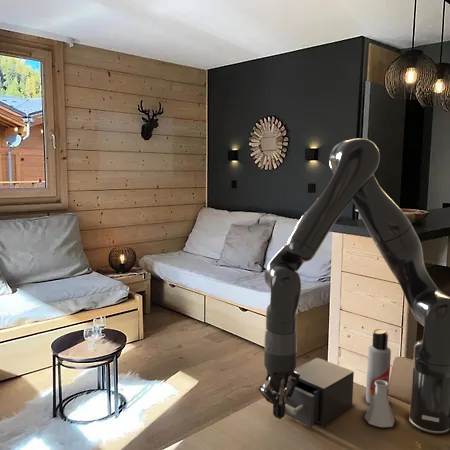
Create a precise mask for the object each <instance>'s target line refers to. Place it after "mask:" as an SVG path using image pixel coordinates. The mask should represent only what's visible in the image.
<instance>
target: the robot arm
mask: <svg viewBox="0 0 450 450" xmlns="http://www.w3.org/2000/svg"><path fill="white" fill-rule="evenodd" d="M379 151H380V150H379V148H378V147H377V145H376V144H375V143H374V142H373V141H371V140H369V139H366V138H351V139H349V140H343V141H341V142H339V143H337V144H336V145H334V146H333V148H331V150H330V153H329V157H328V158H329V160H328V161H329V167H330V170H331V173H332V174H333V175H332V177H331V179H330V181H329V182H328V184H327V186H326V187H325V189H324V190H323V191H322V193H321V194H320V195H319V197H318V198H317V199H316V200H315V201H314V202H313V204H311V206H309V207H308V209H307V210H306V212H304V214H303V215H302V216H301V218H300V219H299V221H298V222H297V223H296V225H295V227H294V229H293V230H292V232H291V234H290V236H289V237H288V239H287V241H286V243H285V244H284V245H283V246H282V247H281V248H280V249H279V250H278V251H277V253H276V254H275V255H274V256H273V257H272V258H271V260H270V261H269V262H268V264H267V266H266V268H265V271H264V276H263V277H264V282H265V284H266V286H267V287H268V288H269V290H270V301H269V304H268V305H267V308H266V311H265V332H264V333H265V334H264V349H263V350H264V352H263V355H264V358H263V365H264V367H265V369H266V375H265V383H264V384H263V385H259V386H258V389H257V390H258V391H259V393H260V394H261V395H262V397H263V398H264V399H265V401H266V402H268V403H269V404H272V415H273V416H274V417H275V418H276V419H278V420H281V419H283V418H284V417H285V416H286V414H285V403H286V402H287V398H288V397H291V396H292V394H293V391H294V389H295V387H296V384H297V382H298V380H299V377H300V374H298V373H296V372H294V369H295V368H297V361H298V359H297V358H298V357H297V355H298V334H297V319H298V318H297V312H298V308H299V304H300V299H301V294H302V293H301V292H302V280H301V279H302V278H301V276H300V273H299V270H300V268H301V267H302V266H303V265H304V263H305V262H310V261H312V260H313V258H314V257H315V256H316V254H317V252H318V251H319V249H320V248H321V246H322V245H323V243H324V241H325V239H326V238H327V236H328V234H329V233H330V231H331V229H332V228H333V226H335V225H334V224H335V223H336V222H337V221H338V219H339V217H340V216H341V215H342V213H343V212H344V211H345V209H346V208H347V206H349V203H350V202H352V203H353V204H354V206H355V208H356V210H357V212H358V214H359V216H360V218H361V220H362V221H363V224H364V225H365V227H366V229H367V231H368V233H369V235H370V237H371V239H372V241H373V243H374V244H375V246H376V248H377V250H378V252H379V254H380V255H381V257H382V258H383V260H384V262H385V263H386V265H387V267H388V268H389V270H390V271H391V273H392V274H393V276H394V277H395V279H396V280H397V282H398V284H399V286H400V288H401V291H402V292H403V294H404V295H403V296H404V297H405V299H406V301H407V305H408V307H409V310H410V311H411V314H412V316H413V317H414V319H415V320H416V321H417V323H419V325H422V326H423V335H422V339H421V340H418V341H416V342H415V344H414V346H413V360H412V375H411V376H412V377H411V388H410V389H411V391H410V404H409V407H410V408H409V416H408V420H409V422H410V424H411V425H412V426H413V427H414V428H416V429H418V430H420V431H422V432H424V433H428V434H433V435H444V434H447V433H449V432H450V296H449V295H447V294H446V293H443V292H442V291H441V290H440V289H439V287H437V284H436V283H435V282H434V280H433V278H431V276H430V274H429V272H428V270H427V267H426V265H425V261H424V251H423V247H422V243H421V240H420V238H419V235H418V234H417V231H416V230H415V228H414V226H413V224H412V222H411V221H410V219H409V218H408V217H407V215H406V214H405V213H404V212H403V210H402V209H401V208H400V207H399V206H398V205H397V203H396V202H395V201H394V200H393V199H392V198H390V196H389V195H388V194H387V193H386V192H385V191H384V190H383V188H382V187H381V185H380V184H379V182H378V180H377V179H376V176H375V175H374V173H376V172H377V171H376V170H378V167H379V164H380V159H381V154H380V152H379ZM290 386H291V387H290Z"/></svg>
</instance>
